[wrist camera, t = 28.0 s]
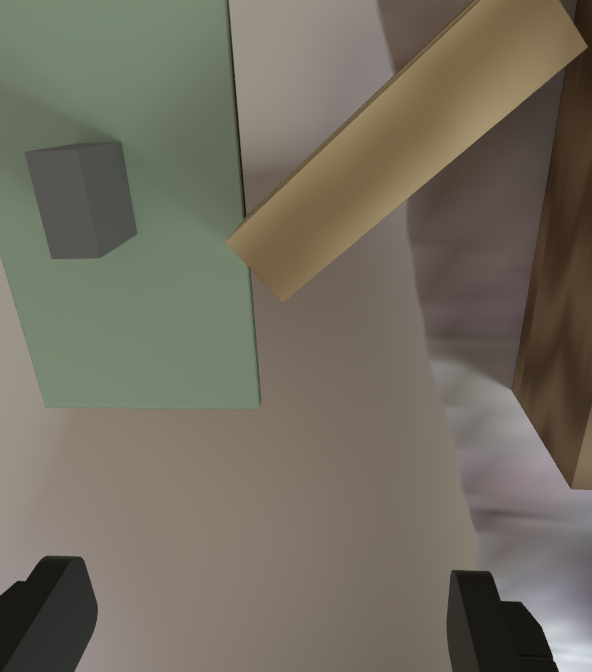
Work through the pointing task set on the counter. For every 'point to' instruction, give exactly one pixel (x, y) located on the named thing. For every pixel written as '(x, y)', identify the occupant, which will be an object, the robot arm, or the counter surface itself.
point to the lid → (126, 203)
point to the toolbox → (564, 284)
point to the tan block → (405, 136)
